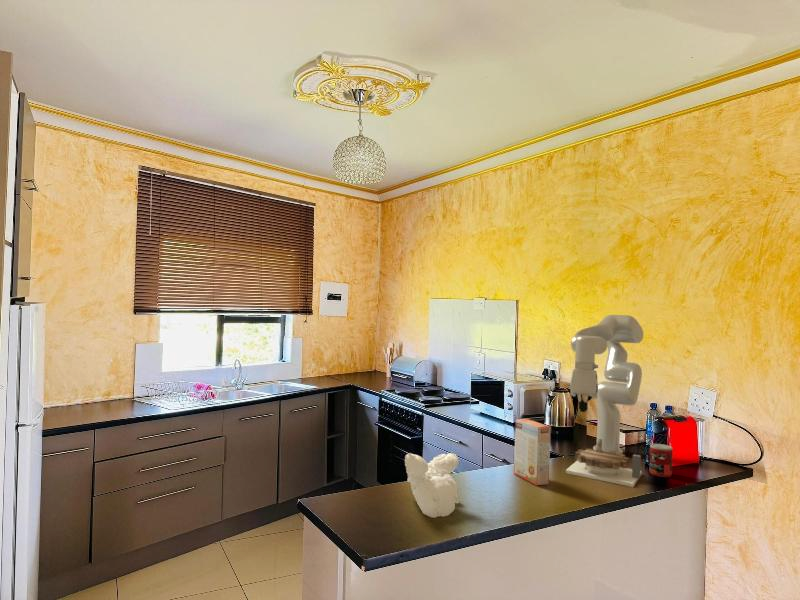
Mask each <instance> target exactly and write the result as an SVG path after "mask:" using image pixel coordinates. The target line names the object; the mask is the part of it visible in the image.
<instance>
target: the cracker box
mask: <svg viewBox="0 0 800 600" xmlns="http://www.w3.org/2000/svg"><path fill="white" fill-rule="evenodd" d="M514 430H515V434H514V454H513V455H514V457H513V475H515V476H517V477H519V478H521V479H523V480H525V481H527V482H529V483H530V484H532V485H534V486H547V485H550V465H551V464H550V460H551V459H550V457H551V456H550V455H551V434H552V426H550V425H547V424H543V423H541V422H538V421H535V420H532V419H529V418H522V419H521V418H518V419H515V429H514Z"/></svg>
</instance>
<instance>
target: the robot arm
mask: <svg viewBox="0 0 800 600" xmlns="http://www.w3.org/2000/svg"><path fill="white" fill-rule="evenodd" d="M643 339H644V329H643V326H641V324H640V323H639V321H638V320H637V319H636V318H635V317H633V316H631V315H629V314H627V315H626V314H625V315H624V314H609V315H608V314H607V315H606V316H604V317H603V319H601V320H600V321H599V323H597V324H596V325H591V326H589V327H585V328H582V329H581V330H579V331H577V332H576V333H575V334H574V335H573V336H572V338H571V342H570V347H571V350H572V351H573V352H574V354H575V356H574V357H575V358H574V368H573V370H572V374H571V380H570V386H569V387H570V388H569V389H570V390H569V391H570V392H569V395H570V396H572V397H573V398H574V397H575V399H577V400H578V405H579V406H578V409H579V412H581V413H586V412H587V411H588V408H589V407H588V405H589V401H591V400H595V399H597V401H596V402H597V429H596V430H597V431H596V440H597V439H602V450H603V451H608V452H609V451H613V452H616V454H623V453H624V451H623V449H622V448H620V437H621V436H620V435H621V433H620V432H621V412H620V409H619V408H618V407H617V405H623V406H635V405H636V403H637V401H638V397H639V394H640V393H639V392H640V388H641V383H642V378H643V372H642V371H643V370H642V367H641V366H640V365H639V364H638V363H636V362H631V361H630V362H628V361H627V360H628V356H629V355H628V352H627V350H626V349H625V347H624V346H623V345H622V344H623V343H624V344H626V343H627V344H640V343H641V342H642V341H643ZM621 343H622V344H621ZM606 351H607V353H608V354H607V358H606V363H605V366H604V371H603V375H604V378H605V379H606V380H607V381H601V382H599V381H598V374H597V373H598V372H597V370H596V369H599V365H598V364H596V362H595V360H596V359H595V358H596V357H595V356H596V355H602V354H604V353H605V352H606ZM583 396H584V398H583ZM592 450H596V445H594V446H592Z"/></svg>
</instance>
